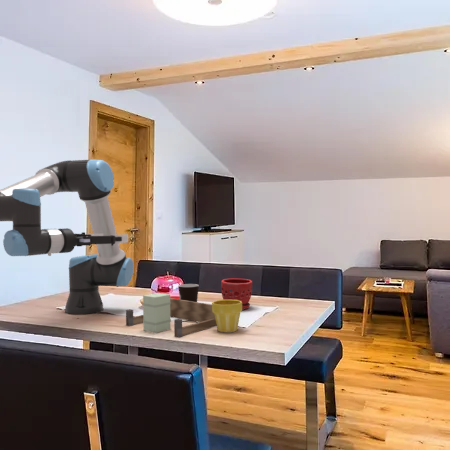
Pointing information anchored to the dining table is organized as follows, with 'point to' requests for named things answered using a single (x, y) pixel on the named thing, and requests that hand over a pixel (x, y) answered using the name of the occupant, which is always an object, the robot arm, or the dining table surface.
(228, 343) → the dining table surface
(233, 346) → the dining table surface
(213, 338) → the dining table surface
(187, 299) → the coffee mug
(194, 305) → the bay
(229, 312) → the plant pot
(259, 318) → the dining table surface
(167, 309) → the pale green box
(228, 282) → the plant pot
